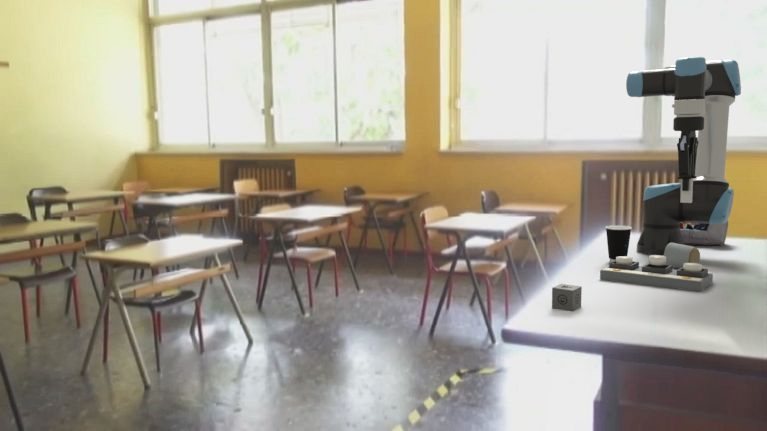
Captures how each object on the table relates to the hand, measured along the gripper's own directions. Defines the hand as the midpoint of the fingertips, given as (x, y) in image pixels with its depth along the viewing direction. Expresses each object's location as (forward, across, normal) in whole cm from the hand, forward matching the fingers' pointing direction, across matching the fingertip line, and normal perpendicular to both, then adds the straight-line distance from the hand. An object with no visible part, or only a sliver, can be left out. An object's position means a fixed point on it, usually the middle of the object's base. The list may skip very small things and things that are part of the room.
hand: (686, 202), depth 178 cm
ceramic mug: (+22, -11, -3) cm, 25 cm away
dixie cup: (+22, -12, -23) cm, 34 cm away
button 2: (+17, +9, +4) cm, 20 cm away
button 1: (+17, +8, -14) cm, 24 cm away
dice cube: (+20, +50, -14) cm, 55 cm away
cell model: (+24, -61, -10) cm, 66 cm away
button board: (+21, +10, -5) cm, 24 cm away
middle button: (+16, +8, -5) cm, 19 cm away
